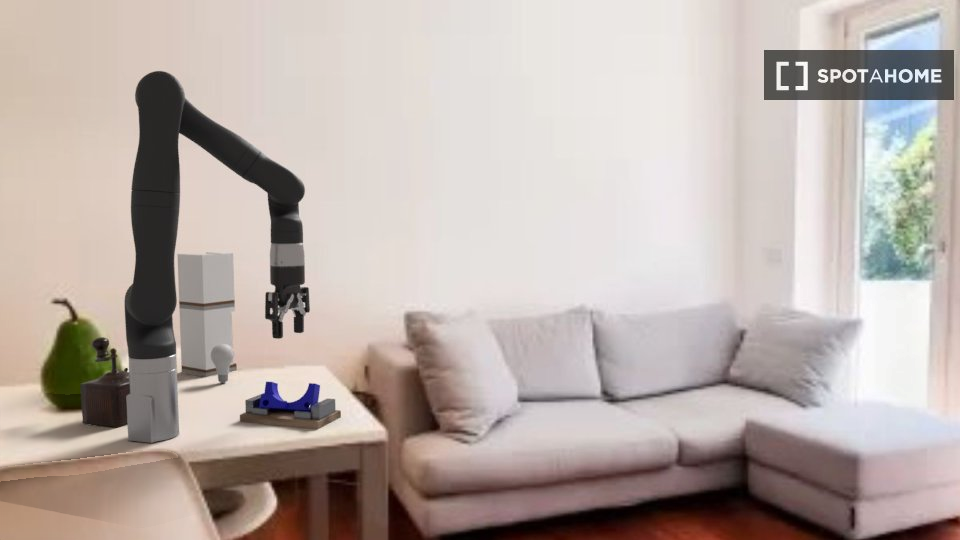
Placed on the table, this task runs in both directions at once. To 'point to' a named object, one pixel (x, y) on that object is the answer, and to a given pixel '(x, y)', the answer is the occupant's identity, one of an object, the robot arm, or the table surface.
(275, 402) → the blue curved cradle
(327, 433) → the table surface
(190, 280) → the white square pillar
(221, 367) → the lightbulb
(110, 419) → the manual coffee grinder
